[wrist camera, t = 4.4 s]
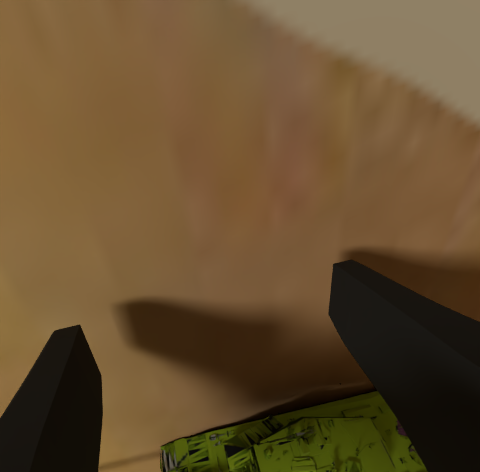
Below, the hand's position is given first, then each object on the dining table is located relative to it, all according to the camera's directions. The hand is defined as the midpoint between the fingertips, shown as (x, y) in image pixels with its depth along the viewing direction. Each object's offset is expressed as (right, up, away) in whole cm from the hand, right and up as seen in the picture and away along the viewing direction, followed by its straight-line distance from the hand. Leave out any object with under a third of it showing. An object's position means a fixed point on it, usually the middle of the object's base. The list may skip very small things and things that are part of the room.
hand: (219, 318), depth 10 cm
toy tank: (0, -5, +6) cm, 8 cm away
